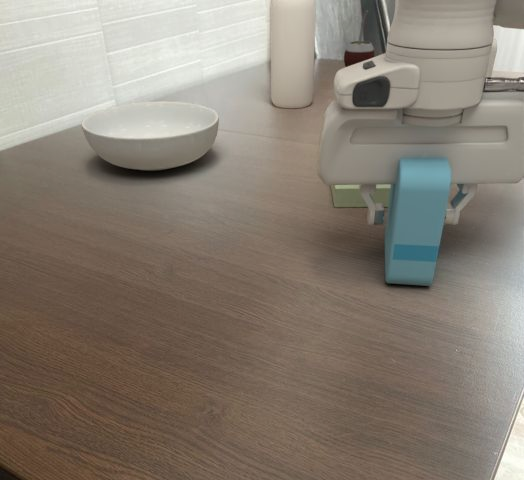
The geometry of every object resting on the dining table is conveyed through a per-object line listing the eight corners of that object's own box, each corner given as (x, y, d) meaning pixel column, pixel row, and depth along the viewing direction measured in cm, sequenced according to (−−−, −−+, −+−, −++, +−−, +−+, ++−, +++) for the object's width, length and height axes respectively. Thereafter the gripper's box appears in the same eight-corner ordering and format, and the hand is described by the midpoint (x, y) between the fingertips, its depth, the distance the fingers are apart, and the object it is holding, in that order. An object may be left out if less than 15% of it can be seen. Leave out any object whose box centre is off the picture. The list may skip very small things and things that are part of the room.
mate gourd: (355, 76, 137) (360, 5, 128) (381, 80, 132) (388, 7, 123) (335, 80, 133) (339, 8, 124) (361, 85, 128) (367, 10, 119)
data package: (431, 292, 56) (453, 174, 48) (385, 289, 56) (400, 172, 49) (423, 239, 65) (440, 134, 58) (384, 237, 66) (396, 133, 58)
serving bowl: (145, 196, 77) (138, 146, 73) (65, 165, 89) (54, 120, 85) (248, 158, 89) (246, 113, 85) (165, 135, 101) (160, 94, 97)
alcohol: (314, 99, 120) (320, -76, 101) (310, 109, 113) (316, -77, 94) (274, 98, 121) (273, -75, 103) (268, 108, 114) (265, -75, 96)
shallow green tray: (413, 161, 86) (416, 144, 85) (438, 206, 72) (441, 187, 71) (326, 162, 87) (327, 145, 85) (334, 207, 73) (335, 188, 71)
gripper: (538, 69, 52) (503, 209, 60) (319, 72, 52) (314, 210, 61) (566, 84, 46) (522, 235, 55) (322, 88, 47) (316, 236, 56)
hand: (411, 222), depth 58 cm, fingers open, 6 cm apart
